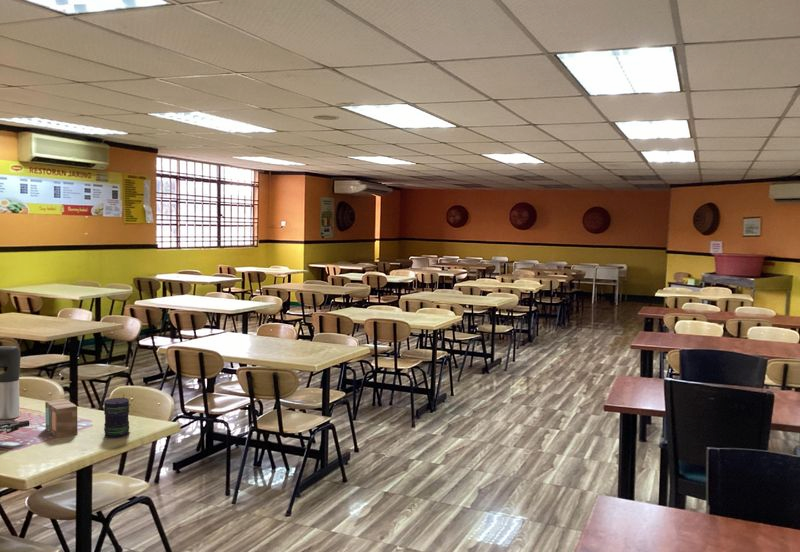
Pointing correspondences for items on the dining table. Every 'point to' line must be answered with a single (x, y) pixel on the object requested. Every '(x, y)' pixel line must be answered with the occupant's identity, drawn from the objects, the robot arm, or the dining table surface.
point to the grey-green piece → (47, 416)
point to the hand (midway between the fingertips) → (28, 423)
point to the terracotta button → (54, 421)
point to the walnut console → (63, 417)
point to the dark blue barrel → (116, 418)
